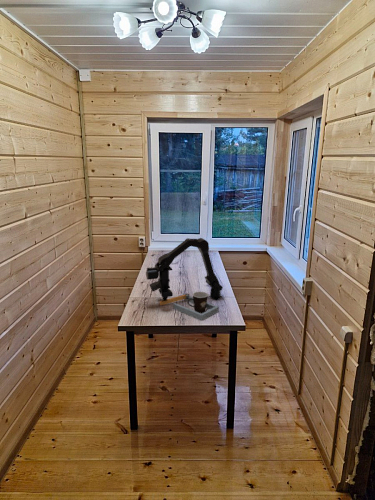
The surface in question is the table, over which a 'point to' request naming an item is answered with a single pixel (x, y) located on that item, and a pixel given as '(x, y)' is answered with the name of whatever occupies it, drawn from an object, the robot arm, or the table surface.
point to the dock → (195, 314)
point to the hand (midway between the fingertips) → (164, 301)
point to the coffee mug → (199, 301)
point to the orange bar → (174, 299)
